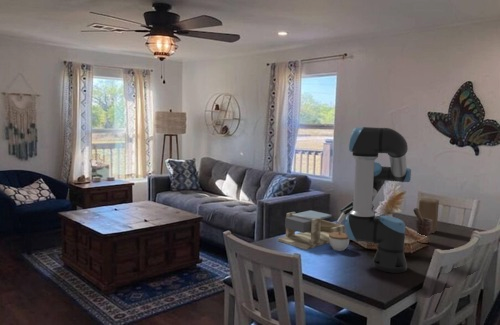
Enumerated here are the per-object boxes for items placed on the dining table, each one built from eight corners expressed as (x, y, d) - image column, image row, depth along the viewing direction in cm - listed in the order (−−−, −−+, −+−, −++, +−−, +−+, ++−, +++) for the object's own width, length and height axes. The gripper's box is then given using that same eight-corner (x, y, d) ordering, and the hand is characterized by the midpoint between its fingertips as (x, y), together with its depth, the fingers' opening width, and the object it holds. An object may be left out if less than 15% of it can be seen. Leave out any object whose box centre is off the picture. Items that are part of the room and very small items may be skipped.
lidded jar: (332, 244, 224) (333, 228, 223) (351, 248, 219) (352, 231, 218) (325, 249, 215) (326, 232, 214) (345, 253, 209) (346, 235, 208)
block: (416, 231, 256) (418, 199, 254) (420, 228, 265) (422, 197, 263) (433, 234, 251) (436, 202, 249) (436, 230, 259) (439, 199, 257)
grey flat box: (305, 233, 215) (305, 220, 215) (283, 227, 227) (283, 215, 226) (331, 226, 231) (332, 214, 231) (310, 221, 243) (310, 209, 242)
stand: (305, 249, 214) (307, 221, 212) (278, 240, 228) (278, 214, 227) (344, 238, 237) (345, 212, 236) (316, 230, 252) (317, 206, 250)
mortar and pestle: (423, 246, 225) (426, 210, 223) (409, 242, 232) (411, 207, 230) (433, 242, 233) (436, 208, 231) (418, 238, 239) (421, 205, 237)
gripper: (389, 204, 219) (369, 235, 212) (352, 196, 239) (333, 224, 232) (383, 195, 215) (363, 226, 208) (347, 188, 236) (327, 216, 228)
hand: (347, 225), depth 220 cm, fingers open, 13 cm apart
